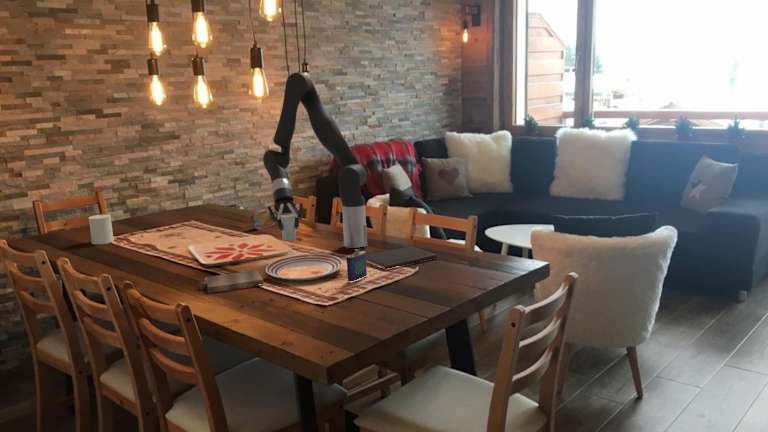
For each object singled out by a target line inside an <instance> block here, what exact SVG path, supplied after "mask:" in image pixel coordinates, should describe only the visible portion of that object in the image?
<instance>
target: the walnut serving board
mask: <svg viewBox="0 0 768 432" xmlns="http://www.w3.org/2000/svg"><path fill="white" fill-rule="evenodd" d="M259 284H264V279H263V277H262V276H261V274H260V273H259V271H258V270H249V271H241V272H234V273H233V272H232V273H227V274H220V275H219V274H218V275H212V276H206V277H204V281H201V282H199V289H200V290H207V293H208V294H212V293H219V292H226V291H234V290H241V289H248V288H254V287H253V286H255V285H259ZM247 287H248V288H247ZM255 287H256V286H255Z"/></svg>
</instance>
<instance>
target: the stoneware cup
mask: <svg viewBox="0 0 768 432" xmlns="http://www.w3.org/2000/svg"><path fill="white" fill-rule="evenodd" d="M295 213H296V212H295ZM295 213H292V212H289V213H282V214H280V217H281V222H282V230H281V236H282V241H283V242H293V241H296V240H297V231H296V228H295V217H294V216H295Z"/></svg>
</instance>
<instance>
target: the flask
mask: <svg viewBox="0 0 768 432" xmlns="http://www.w3.org/2000/svg"><path fill="white" fill-rule="evenodd" d="M353 250H355V251H354V252H353V253H352V254H349V255H347V256H346V270H347V271H346V274H347V282H348V281H354V280H357V279H359V278H362V277H364V276H366V275H367V276H368V273H367V272H368V271H367V263H366V256H367V254H366V251H365V250H364V251H363V250H362V251H361V250H360V249H353Z"/></svg>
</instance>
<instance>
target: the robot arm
mask: <svg viewBox="0 0 768 432" xmlns="http://www.w3.org/2000/svg"><path fill="white" fill-rule="evenodd" d="M300 103H301V104H302V106H303V107H304V109H305V111H306V113H307V115H308V119H309V123H310V125H311V128H312V130H313V133H314V134H315V136H316V138H317V139H318V141H319V143H320V144H321V145H322V146H323V147H324V148H325V150H327V151H328V153H330V154H331V155H332V156H334V158H335V159H336V160H337V162H338V163H339V165H340V166H341V169H340V170H339V173H338V178H337V179H338V191H339V198H340V199H339V200H341V208H342V210H341V211H342V228H343V229H342V230H343V247H344V246H345V247H348V248H357V247H363V246H367V247H368V231H367V230H368V229H367V222H366V221H367V218H366V217H367V216H366V199H365V197H364V196H363V195H362V189H361V186H362V185H364V184H365V183H366V180H367V172H366V169H365V168H364V166H363V165H362V163H361V162H360V161H359V159H358V158H357V157H356V155H355V154H354V153H353V151H352V149H351V147H350V145H349V143H348V142H347V140H346V139H345V137H344V135H343V134H342V131H341V129H340V128H339V126H338V125H337V122H336V121H335V120H334V119H335V118H333V116H332V115H331V113H330V112H329V110H328V109H327V107H326V105H325V104H324V102H323V101H322V100H321V98H320V96H319V93H318V91H317V89H316V87H315V84H314V82H313V80H312V79H311V78H310V76H308V75H307V74H305V73H302V72H297V71H296V72H293V73H291V74H290V75H288V77H287V78H286V82H285V86H284V95H283V102H282V107H281V111H280V116H279V119H278V123H277V126H276V130H275V133H274V137H273V140H272V141H273V143H274V145H275V146H277V147H280V151H277V150H273V149H268V150H266V151H265V152H264V154H263V156H262V157H263V158H262V162H263V165H264V168H265V169H266V171H267V173H268V175H269V177H270V181H271V192H272V193H271V194H272V197H273V203H274V205H273V206H269V205H268V206H267V209H268V213H269V215H270V218H271V220H272V222H276V223H277V229H278V230H279V231H280V232H282V222H281V217H280V214H282V213H289V212H292V213H295V216H294V217H295V229H298V228H299V226H300V223H299V220H302V219H303V208H304V206H303V202H300V203H296V202H295V200H294V196H293V195H294V194H293V190H292V184H291V183H290V177H289V174H288V173H289V172H288V170H286V169H287V168H288V167H289V165H290V162H291V157H290V155H291V145H292V141H293V136H294V133H295V130H296V124H297V115H298V114H297V112H298V109H299V105H300ZM296 208H297V210H298V213H296V211H295V209H296ZM274 210H275V211H276V213H277V217H275V215H274V213H273V212H274ZM345 247H344V248H345ZM348 248H347V249H348Z"/></svg>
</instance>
